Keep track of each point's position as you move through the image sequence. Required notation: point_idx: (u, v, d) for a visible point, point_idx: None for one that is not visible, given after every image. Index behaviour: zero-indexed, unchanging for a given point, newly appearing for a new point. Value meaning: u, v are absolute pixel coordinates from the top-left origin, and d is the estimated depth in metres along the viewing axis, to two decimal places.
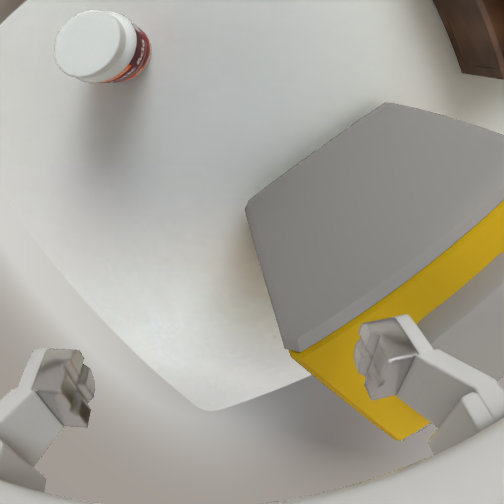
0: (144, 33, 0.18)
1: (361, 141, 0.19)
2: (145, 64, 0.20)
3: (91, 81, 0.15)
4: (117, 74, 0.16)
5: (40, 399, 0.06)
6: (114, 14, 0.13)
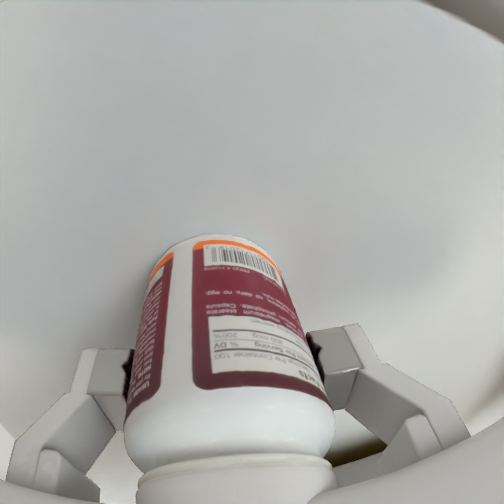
0: None
1: None
2: None
3: None
4: None
5: (95, 404, 0.07)
6: (326, 426, 0.05)
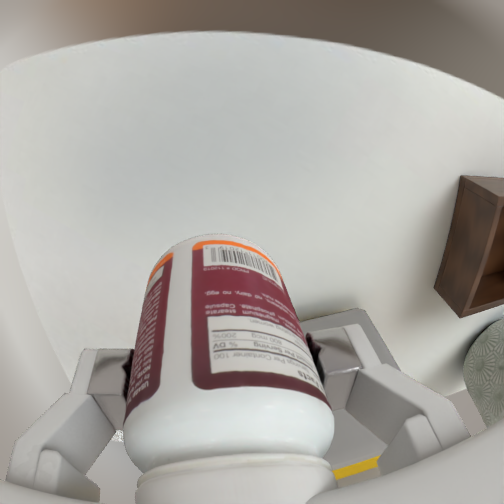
0: None
1: None
2: None
3: None
4: None
5: (94, 404, 0.07)
6: (325, 426, 0.05)
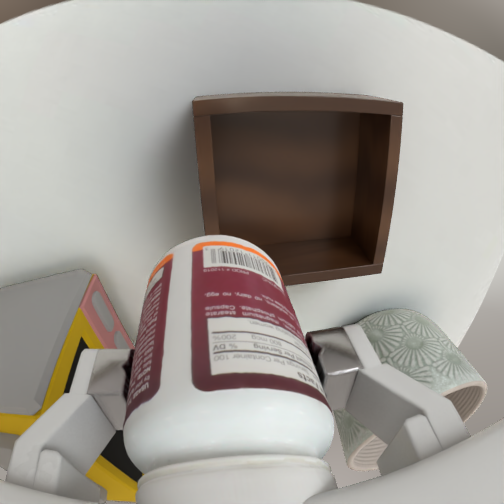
0: None
1: (26, 301, 0.22)
2: None
3: None
4: None
5: (94, 404, 0.07)
6: (324, 428, 0.05)
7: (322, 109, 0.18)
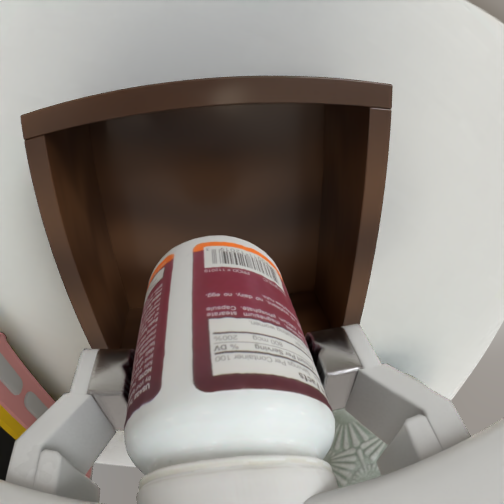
0: None
1: None
2: None
3: None
4: None
5: (95, 404, 0.07)
6: (326, 428, 0.05)
7: (231, 101, 0.10)
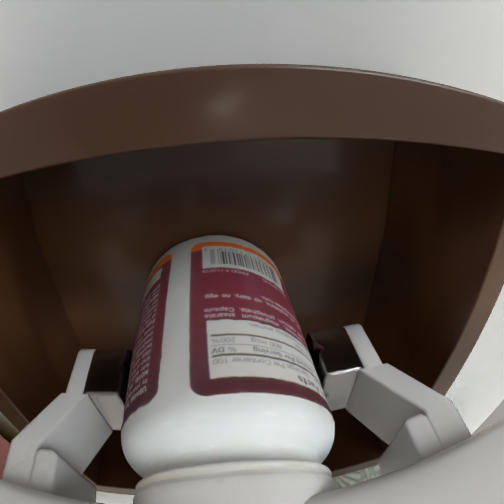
0: None
1: None
2: None
3: None
4: None
5: (91, 403, 0.07)
6: (325, 432, 0.05)
7: (267, 130, 0.04)
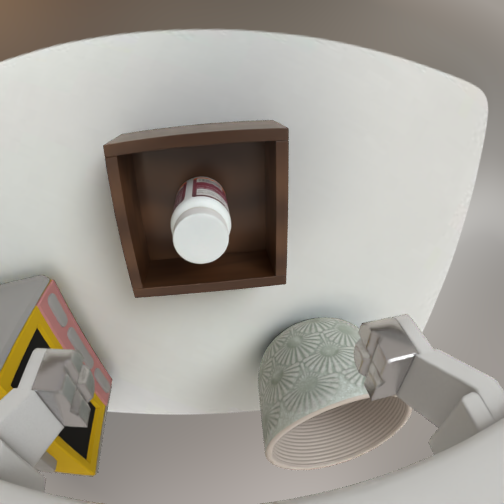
0: None
1: None
2: None
3: None
4: None
5: (40, 399, 0.06)
6: (224, 212, 0.24)
7: (207, 143, 0.23)
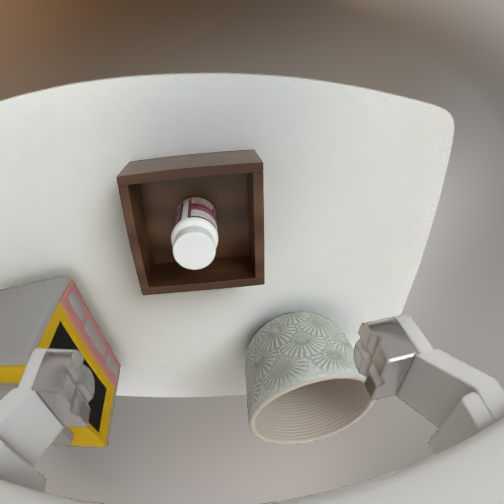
0: None
1: (25, 297, 0.33)
2: None
3: None
4: None
5: (40, 399, 0.06)
6: (212, 229, 0.31)
7: (198, 175, 0.29)
